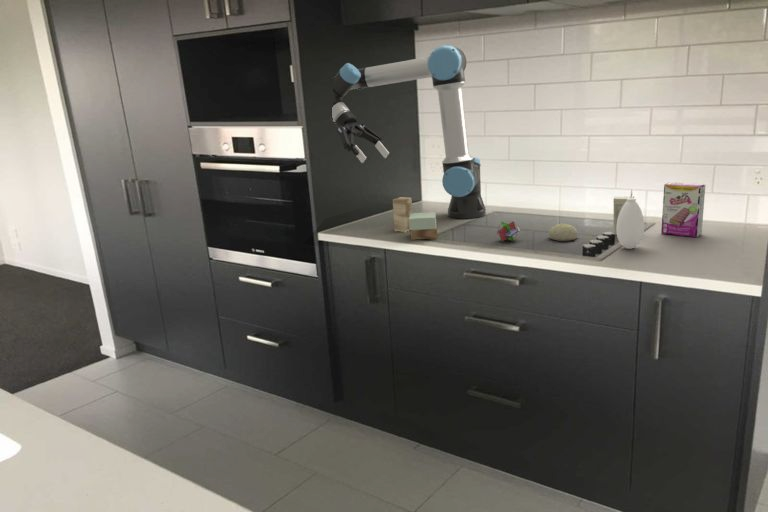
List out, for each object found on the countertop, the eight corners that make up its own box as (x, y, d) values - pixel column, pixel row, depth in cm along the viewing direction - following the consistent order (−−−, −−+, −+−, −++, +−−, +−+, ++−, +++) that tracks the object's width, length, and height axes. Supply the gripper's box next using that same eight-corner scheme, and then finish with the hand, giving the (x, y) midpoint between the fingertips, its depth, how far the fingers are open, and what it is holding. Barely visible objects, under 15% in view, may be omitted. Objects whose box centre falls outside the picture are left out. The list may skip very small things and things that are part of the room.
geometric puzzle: (500, 239, 203) (512, 217, 203) (488, 235, 209) (500, 214, 209) (515, 249, 206) (527, 228, 206) (502, 244, 212) (514, 224, 212)
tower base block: (437, 233, 226) (436, 223, 225) (437, 239, 217) (436, 228, 216) (412, 234, 227) (411, 224, 226) (411, 241, 218) (410, 229, 217)
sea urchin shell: (578, 229, 210) (577, 216, 203) (577, 249, 206) (576, 237, 199) (550, 229, 213) (548, 216, 206) (548, 249, 209) (547, 237, 202)
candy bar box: (660, 234, 204) (663, 184, 199) (666, 231, 207) (668, 181, 203) (697, 238, 196) (700, 186, 192) (702, 234, 200) (706, 183, 195)
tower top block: (435, 223, 225) (435, 212, 224) (435, 228, 216) (435, 217, 215) (410, 224, 226) (410, 213, 225) (409, 230, 217) (408, 218, 216)
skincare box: (634, 232, 208) (635, 196, 204) (633, 235, 204) (634, 198, 201) (613, 231, 210) (614, 196, 207) (612, 235, 207) (613, 198, 203)
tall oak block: (402, 228, 237) (400, 197, 233) (413, 229, 234) (411, 197, 230) (394, 231, 233) (392, 199, 230) (405, 232, 230) (403, 200, 227)
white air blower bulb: (640, 252, 185) (643, 192, 180) (613, 250, 189) (614, 191, 184) (645, 246, 191) (648, 187, 187) (618, 244, 195) (620, 186, 191)
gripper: (359, 121, 250) (391, 160, 244) (315, 127, 231) (349, 169, 226) (368, 107, 245) (401, 147, 240) (324, 112, 226) (359, 155, 221)
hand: (376, 158), depth 233 cm, fingers open, 13 cm apart
